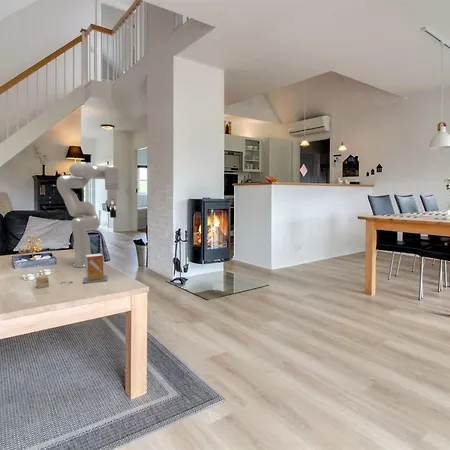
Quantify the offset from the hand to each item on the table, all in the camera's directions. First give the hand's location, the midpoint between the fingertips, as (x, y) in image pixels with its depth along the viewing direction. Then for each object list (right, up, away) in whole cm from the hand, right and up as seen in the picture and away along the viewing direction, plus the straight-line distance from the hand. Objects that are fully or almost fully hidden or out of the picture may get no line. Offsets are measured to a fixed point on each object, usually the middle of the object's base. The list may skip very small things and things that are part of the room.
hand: (113, 216), depth 202 cm
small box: (-5, -34, -15) cm, 37 cm away
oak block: (-27, -36, -26) cm, 53 cm away
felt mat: (-5, -35, -14) cm, 38 cm away
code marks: (-18, -35, -20) cm, 44 cm away
